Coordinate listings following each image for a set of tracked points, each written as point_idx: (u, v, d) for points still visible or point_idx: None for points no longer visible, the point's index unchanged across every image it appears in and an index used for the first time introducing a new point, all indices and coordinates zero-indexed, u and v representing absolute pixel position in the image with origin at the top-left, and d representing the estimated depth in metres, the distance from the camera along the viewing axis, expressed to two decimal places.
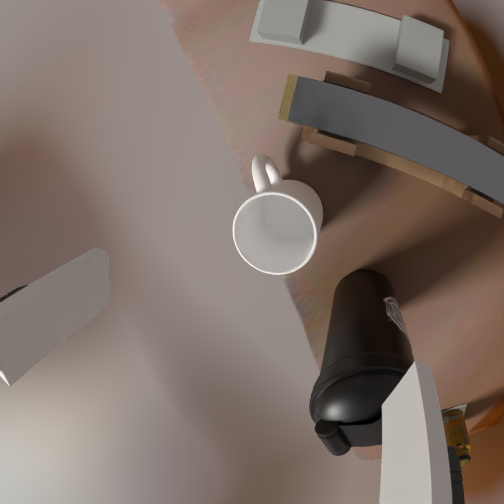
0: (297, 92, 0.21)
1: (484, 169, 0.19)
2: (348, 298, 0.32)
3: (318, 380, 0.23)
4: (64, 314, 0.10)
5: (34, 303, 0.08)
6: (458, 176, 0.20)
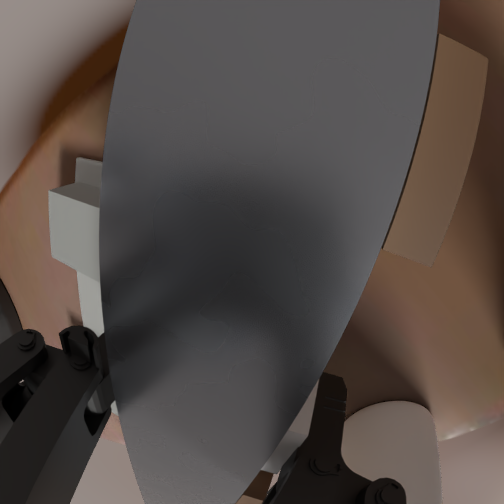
0: None
1: (210, 266, 0.04)
2: None
3: None
4: None
5: None
6: (280, 412, 0.05)
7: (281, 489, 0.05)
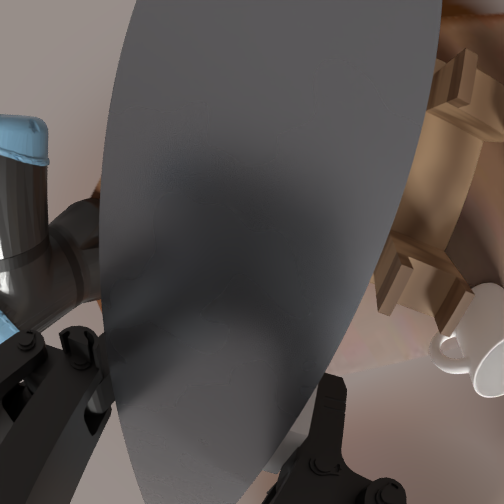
0: None
1: (211, 267, 0.04)
2: None
3: None
4: None
5: None
6: (281, 413, 0.05)
7: (281, 489, 0.05)
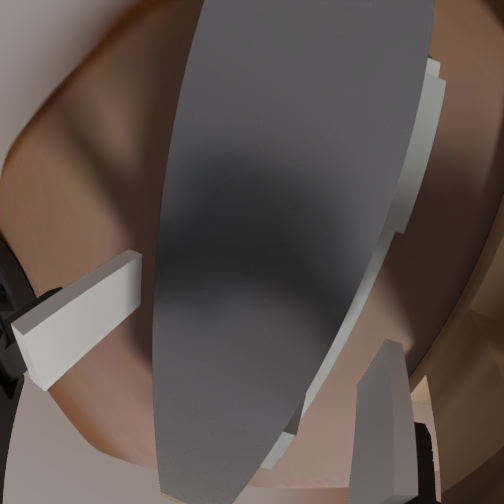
0: (182, 500, 0.13)
1: (258, 238, 0.05)
2: None
3: None
4: (100, 316, 0.10)
5: (73, 306, 0.08)
6: (307, 364, 0.06)
7: None
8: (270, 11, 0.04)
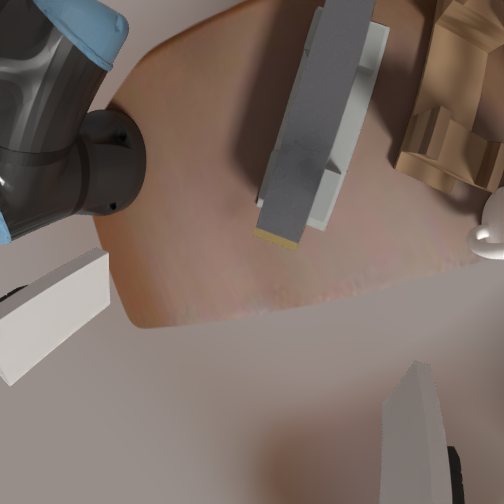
0: (271, 230, 0.26)
1: (337, 45, 0.19)
2: None
3: None
4: (64, 314, 0.10)
5: (34, 303, 0.08)
6: (350, 75, 0.20)
7: None
8: (340, 6, 0.17)
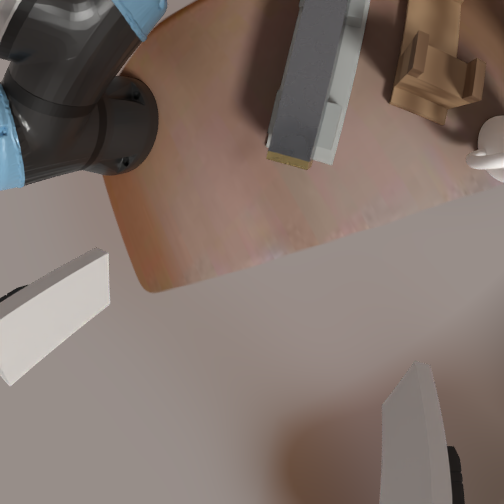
0: (283, 151, 0.27)
1: None
2: None
3: None
4: (64, 314, 0.10)
5: (34, 303, 0.08)
6: (340, 17, 0.20)
7: None
8: None
